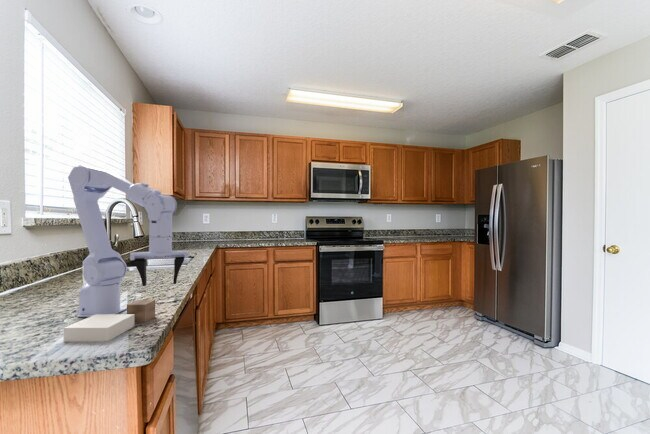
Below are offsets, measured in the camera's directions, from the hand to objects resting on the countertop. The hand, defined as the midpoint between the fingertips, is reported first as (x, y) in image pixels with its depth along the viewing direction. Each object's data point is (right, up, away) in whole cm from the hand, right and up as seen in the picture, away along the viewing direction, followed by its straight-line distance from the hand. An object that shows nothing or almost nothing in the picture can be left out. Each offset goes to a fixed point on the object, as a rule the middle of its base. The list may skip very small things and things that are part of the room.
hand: (159, 284), depth 86 cm
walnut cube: (-4, -10, -2) cm, 11 cm away
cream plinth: (-8, -10, -12) cm, 17 cm away
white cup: (-44, -10, +33) cm, 56 cm away
